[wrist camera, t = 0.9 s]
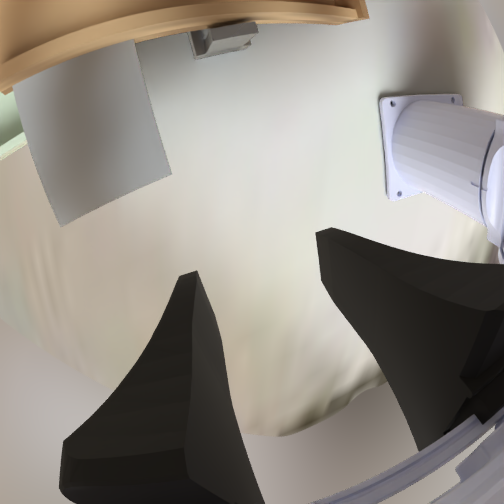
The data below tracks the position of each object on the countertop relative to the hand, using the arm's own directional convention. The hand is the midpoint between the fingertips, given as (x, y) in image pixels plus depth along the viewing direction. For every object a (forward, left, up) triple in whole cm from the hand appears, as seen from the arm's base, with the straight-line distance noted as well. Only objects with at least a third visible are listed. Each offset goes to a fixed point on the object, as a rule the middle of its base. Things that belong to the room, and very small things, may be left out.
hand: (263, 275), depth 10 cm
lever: (-1, -9, -6) cm, 11 cm away
